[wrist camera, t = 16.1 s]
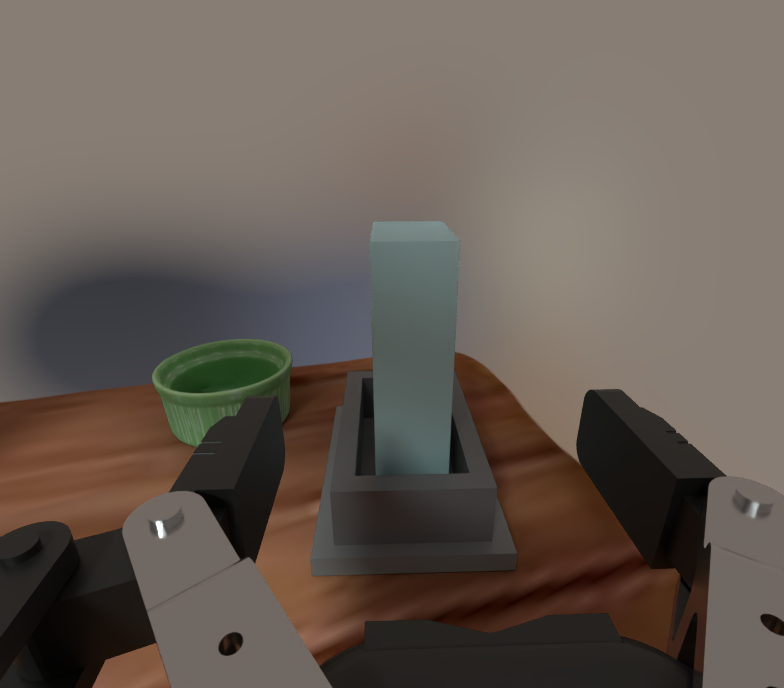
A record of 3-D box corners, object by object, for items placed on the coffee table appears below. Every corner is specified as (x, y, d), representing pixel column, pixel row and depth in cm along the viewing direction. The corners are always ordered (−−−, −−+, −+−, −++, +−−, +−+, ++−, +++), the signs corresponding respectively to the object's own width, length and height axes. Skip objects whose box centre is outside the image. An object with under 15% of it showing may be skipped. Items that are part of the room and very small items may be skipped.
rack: (312, 576, 20) (304, 504, 18) (337, 418, 32) (334, 367, 30) (515, 570, 20) (524, 498, 18) (463, 415, 32) (466, 364, 30)
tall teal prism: (376, 506, 22) (369, 241, 17) (378, 437, 28) (373, 222, 23) (446, 505, 22) (460, 240, 17) (434, 436, 28) (441, 221, 23)
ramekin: (263, 464, 27) (254, 401, 25) (134, 448, 29) (117, 387, 27) (315, 394, 35) (310, 342, 33) (211, 384, 37) (202, 335, 35)
